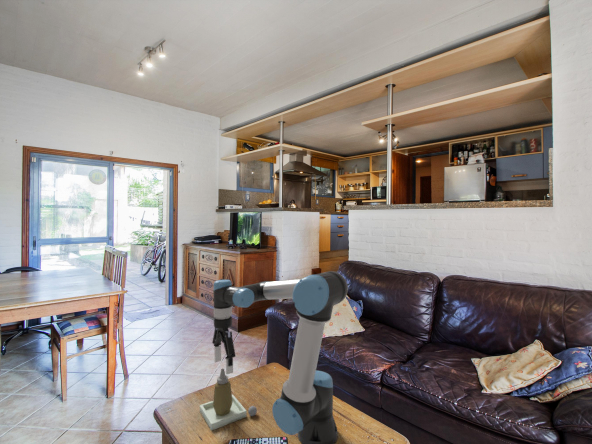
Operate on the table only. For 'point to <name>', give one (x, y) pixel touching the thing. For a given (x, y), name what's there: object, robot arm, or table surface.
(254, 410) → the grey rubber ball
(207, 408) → the tray
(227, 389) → the squeeze bottle
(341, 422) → the table surface
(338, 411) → the table surface
